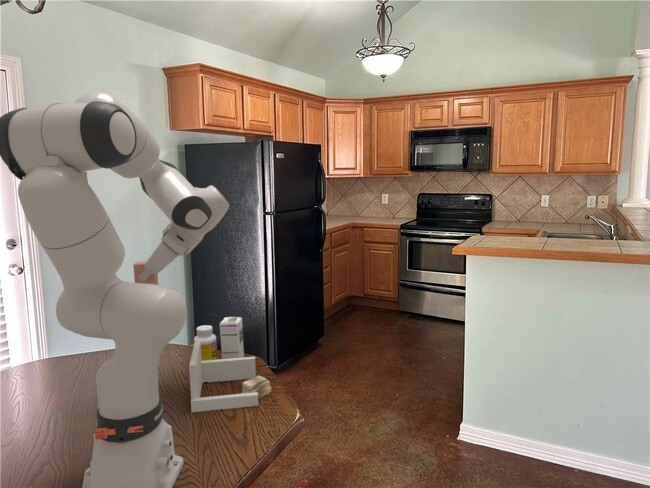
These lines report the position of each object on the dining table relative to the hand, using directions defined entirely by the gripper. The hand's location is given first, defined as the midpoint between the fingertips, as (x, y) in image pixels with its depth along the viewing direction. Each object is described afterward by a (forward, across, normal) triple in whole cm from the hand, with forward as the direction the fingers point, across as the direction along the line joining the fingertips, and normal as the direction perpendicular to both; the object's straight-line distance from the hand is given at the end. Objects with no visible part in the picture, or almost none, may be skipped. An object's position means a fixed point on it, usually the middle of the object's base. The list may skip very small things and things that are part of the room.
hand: (143, 276), depth 122 cm
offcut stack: (+3, +8, +43) cm, 43 cm away
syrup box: (+8, -14, +38) cm, 41 cm away
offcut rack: (+9, +4, +37) cm, 38 cm away
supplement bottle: (+13, -12, +32) cm, 37 cm away
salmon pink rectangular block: (+7, 0, +8) cm, 10 cm away
